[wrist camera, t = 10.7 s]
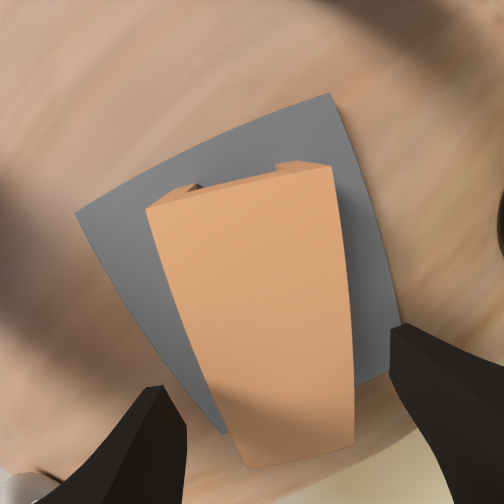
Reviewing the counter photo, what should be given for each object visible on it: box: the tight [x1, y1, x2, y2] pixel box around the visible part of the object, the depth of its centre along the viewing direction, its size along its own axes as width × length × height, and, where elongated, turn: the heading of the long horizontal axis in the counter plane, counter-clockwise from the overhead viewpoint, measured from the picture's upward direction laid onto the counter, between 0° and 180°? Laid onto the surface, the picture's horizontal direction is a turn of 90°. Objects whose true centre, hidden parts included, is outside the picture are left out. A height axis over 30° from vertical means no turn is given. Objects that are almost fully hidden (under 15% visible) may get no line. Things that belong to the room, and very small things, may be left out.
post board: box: [75, 93, 401, 434], centre depth 13 cm, size 15×12×4 cm
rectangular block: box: [145, 160, 354, 469], centre depth 12 cm, size 12×5×4 cm, turn 12°
